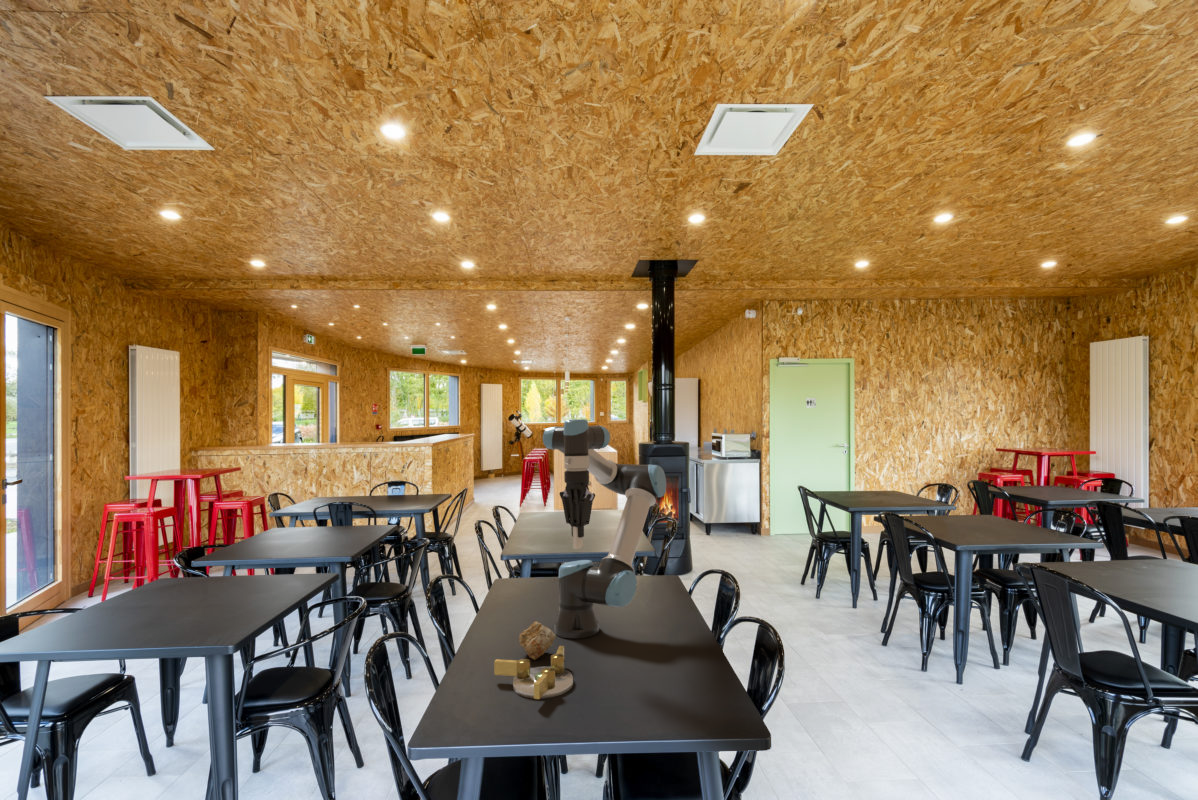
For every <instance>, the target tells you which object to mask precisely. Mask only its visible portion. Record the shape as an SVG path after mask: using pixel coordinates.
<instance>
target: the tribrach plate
mask: <svg viewBox="0 0 1198 800" xmlns="http://www.w3.org/2000/svg"><path fill="white" fill-rule="evenodd" d="M544 668H551V665H549V666H547V665H546V666H535V667H530V677H529V678H528V679H518V678H517V676H513V679H512V689H513V691H514V692H515V694H517V695H519V696H522V697H525V698H528V699H529V698H530V699H534V683H535V682H536V681H537V680H538V678H539V677H540V676H541V670H542V669H544ZM573 685H574V676H573V673H572V672H570V671H569V670H567V669H566V668H564V672H563V673H560V674H555V687H554V688H552V689H547V691H546V692H545V693H544V694H543V695H542V697H541V698H540V699H550V698H554V697H558V696H562V695H564V694H566V693H567V692H568V691H570V690H571V689H572V688H573Z"/></svg>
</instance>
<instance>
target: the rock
mask: <svg viewBox="0 0 1198 800" xmlns="http://www.w3.org/2000/svg"><path fill="white" fill-rule="evenodd" d="M556 637H557V635H556V634H555V632H554V630H552V629H550V628H549V627H547V626H546V625H543V624H542V623H541V622H538V621H534V622H533V623H532V624H530V625H529V627H528V628H527V629H524V630H522V632H521V633H520V634H519V636H518V639H519V642H518V643H519V645H520V646H521V648H523V649H524V651H525V653H526V654H527V656H528V657H529V658H531V660H534V661H536V660H537V659H538V658H540V657H541V656H543V655H544V654H545V652H546V651H548V649H549V648H550V647H551V646H553V645H554V643H553V642H554V641H555V639H556Z"/></svg>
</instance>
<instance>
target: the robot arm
mask: <svg viewBox="0 0 1198 800" xmlns="http://www.w3.org/2000/svg"><path fill="white" fill-rule="evenodd" d="M610 440H611V434H610V431H609V429H607V428H606V427H605V426H603V425H599V424H598V425H589V421H588V420H587V419H580V418H579V419H578V418H577V419H566V420H565V421H564V422H563V426H557V425H555V426H549V427H547V428H546V429H545V430H544V431H543V435H542V443H543V445H544V447H545V448H546V449H549V450H554V451H555V450H558V451H559V452H560V453H562V454H563V456H564V458H563V461H564V466H563V467H564V469H565V470H564V473H563V474H564V483H565V488H564V490H563V491H560V492H559V497H560V499H561V502H562V503H561V504H562V507H563V512H564V518H565V524H568V525H570V527H571V537H572V548H573V550H577V549H581V548H583V547H584V544H583V543H584V541H583V539H584V537H585V526H588V525H589V524H590V521H591V515H592V508H593V502H594V499H595V497H596V493H594V492H593V493H592V491H590V488H589V485H588V484H589V482H590V474H591V475H592V476H594V479H595V481H596V482H597V483H598V484H600V485H601V486H603V487H604V488H605V489H608V490H610V491H611V492H614V493H617V494H619V495H623V496H625V497H626V502H625V505H624V507H623V511H622V513H621V515H620V516H621V517H620V519H619V522H618V526H617V528H616V530H615V534H614V536H613V539H612V543H611V545H610V548H609V551H608V554H607V556H605V557H602V558H601V560H600V564H599V566H594V563H593V561H592V560H591V559H580V560H579V559H578V560H573V561H568V562H565V563H563V564H561V565H560V566H559V568H558V577H557V578H558V601H559V602H558V603H559V604H558V605H559V606H558V611H557V615H556V620H555V622H554V624H553V625H554V627H553V628H554V630H553V633H554V634H555V635H556V636H558V637H560V638H564V639H574V640H575V639H584V638H585V639H586V638H589V637H593V636H594V635H597V634H598V633H599V632H600V625H599V621H598V620H597V616H596V615H597V614H596V611H595V608H594V604H595V605H602V606H609V607H611V608H624V607H626V606H628V605H629V604H630V603H631V602H632V601H633V599H634V597H635V594H636V591H637V587H638V586H637V583H638V579H637V576H636V574H635V569H634V566H633V562H634V558H635V555H636V552H637V549H638V546H639V542H640V539H641V537H642V532H643V530H644V526H645V523H646V519H647V517H648V514H649V510H650V507H652V506H654V505H655V504H656V501H657V499H658V498H662V497H664V496H665V494H666V492H667V479H666V478H667V477H666V474H665V471H664V469H663V468H662V466H660V465H659V464H649V463H648V464H628V463H626V464H624V463H623V464H622V463H616V462H614V461H613V460H611V459H606V457H604V456H602V454H600V453H599V452H597V450H600V449H604V448H606V447H607V446H608V445H609V443H610Z"/></svg>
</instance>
